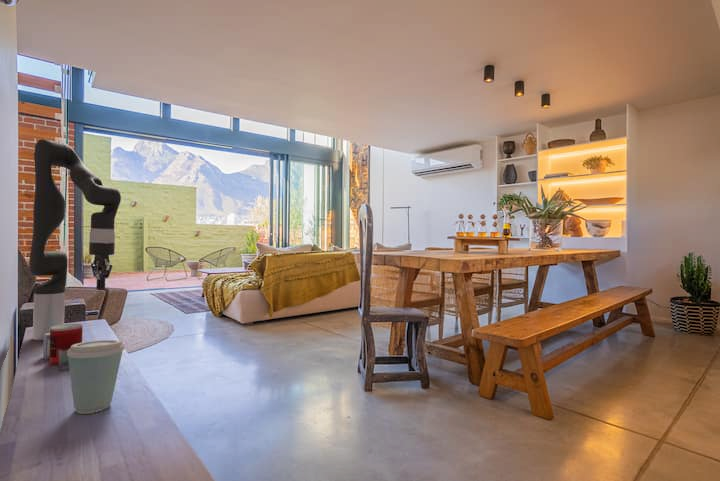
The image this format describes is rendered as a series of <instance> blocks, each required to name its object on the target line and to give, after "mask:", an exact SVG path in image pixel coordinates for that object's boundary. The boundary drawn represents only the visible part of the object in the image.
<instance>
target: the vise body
mask: <svg viewBox="0 0 720 481" xmlns="http://www.w3.org/2000/svg"><path fill="white" fill-rule="evenodd" d="M69 349H70V347H69V348H63V349H59V365H58V371H59V372H60V373H65V372H70V369H69V361H68V356H67V351H68V350H69Z"/></svg>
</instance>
